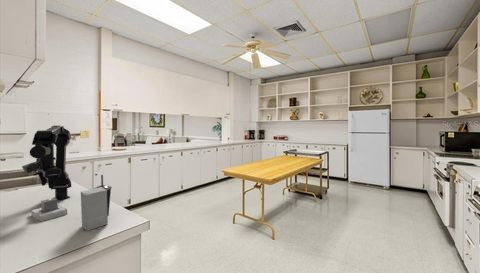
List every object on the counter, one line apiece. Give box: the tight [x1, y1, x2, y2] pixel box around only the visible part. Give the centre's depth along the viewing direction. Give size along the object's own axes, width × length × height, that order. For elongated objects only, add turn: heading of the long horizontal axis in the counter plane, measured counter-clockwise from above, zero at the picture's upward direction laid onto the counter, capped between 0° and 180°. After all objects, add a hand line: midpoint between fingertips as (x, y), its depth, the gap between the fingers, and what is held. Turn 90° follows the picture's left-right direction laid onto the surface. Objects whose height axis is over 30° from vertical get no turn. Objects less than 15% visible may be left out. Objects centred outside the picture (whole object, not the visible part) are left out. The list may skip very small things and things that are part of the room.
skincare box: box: [80, 187, 109, 232], centre depth 93 cm, size 8×7×16 cm
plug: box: [40, 197, 59, 213], centre depth 104 cm, size 4×5×7 cm
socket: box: [30, 204, 68, 222], centre depth 104 cm, size 12×10×3 cm
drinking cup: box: [92, 174, 112, 216], centre depth 103 cm, size 8×8×20 cm
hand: (47, 186), depth 108 cm, fingers open, 9 cm apart
